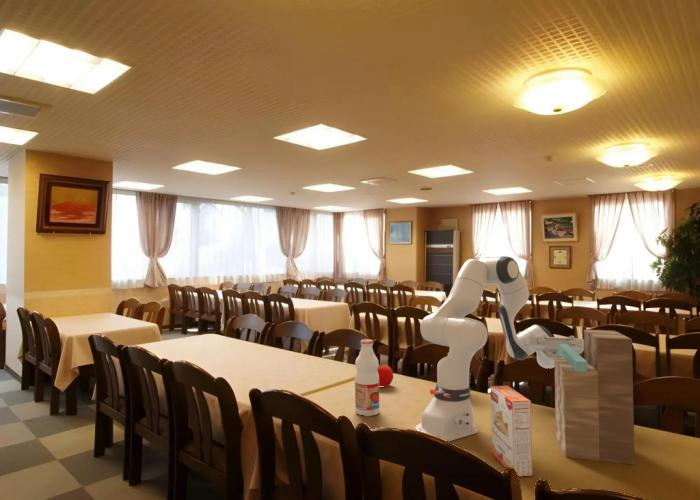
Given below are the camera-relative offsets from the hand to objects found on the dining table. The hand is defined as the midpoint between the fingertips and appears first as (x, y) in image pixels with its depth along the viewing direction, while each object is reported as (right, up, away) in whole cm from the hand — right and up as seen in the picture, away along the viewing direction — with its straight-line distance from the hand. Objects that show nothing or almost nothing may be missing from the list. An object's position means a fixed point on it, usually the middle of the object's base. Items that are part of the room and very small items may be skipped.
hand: (558, 337), depth 156 cm
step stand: (-2, -30, -26) cm, 39 cm away
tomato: (-63, -32, +41) cm, 81 cm away
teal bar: (-5, -4, -20) cm, 21 cm away
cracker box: (-31, -30, -35) cm, 56 cm away
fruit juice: (-71, -31, +7) cm, 78 cm away
